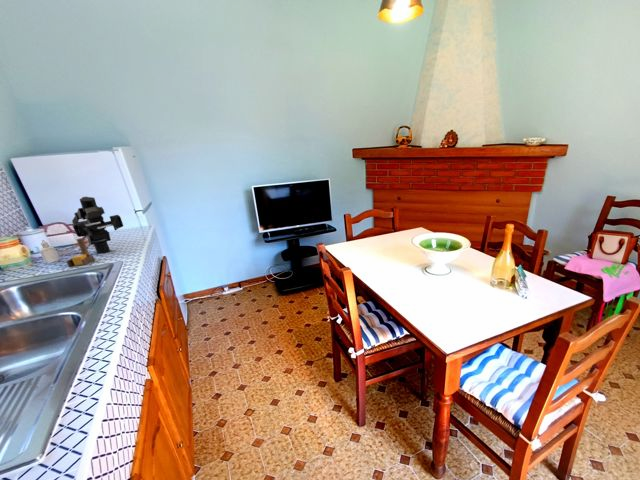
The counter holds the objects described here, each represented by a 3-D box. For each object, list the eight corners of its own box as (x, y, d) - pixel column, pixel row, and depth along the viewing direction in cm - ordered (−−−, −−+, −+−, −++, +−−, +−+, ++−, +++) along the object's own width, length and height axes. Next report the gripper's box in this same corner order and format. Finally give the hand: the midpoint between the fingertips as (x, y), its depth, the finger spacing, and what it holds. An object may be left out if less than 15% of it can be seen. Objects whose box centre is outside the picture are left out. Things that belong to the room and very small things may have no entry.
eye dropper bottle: (60, 262, 153) (50, 239, 148) (45, 265, 149) (34, 242, 145) (60, 259, 156) (50, 238, 151) (45, 263, 152) (35, 240, 148)
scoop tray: (82, 261, 152) (73, 238, 147) (98, 259, 153) (89, 237, 148) (69, 268, 143) (58, 244, 138) (85, 267, 144) (75, 243, 139)
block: (80, 262, 148) (77, 255, 146) (89, 261, 148) (86, 254, 147) (74, 265, 144) (71, 257, 143) (83, 264, 145) (80, 256, 143)
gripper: (63, 209, 140) (72, 222, 132) (111, 200, 152) (121, 211, 144) (73, 230, 146) (82, 243, 138) (118, 220, 159) (128, 232, 151)
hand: (104, 232), depth 143 cm, fingers open, 9 cm apart
